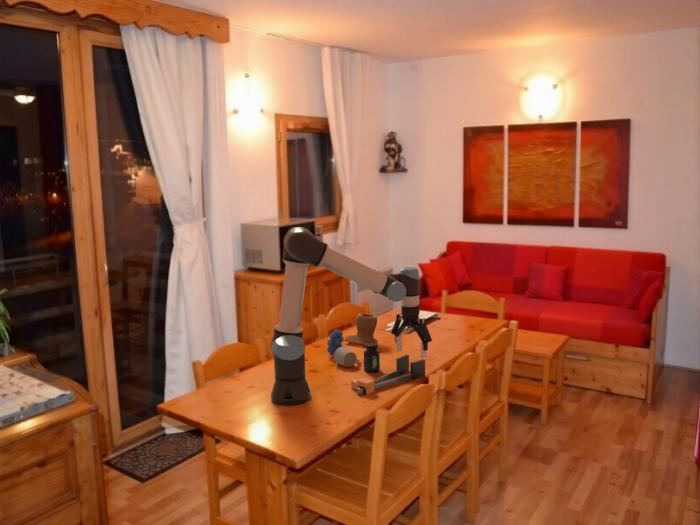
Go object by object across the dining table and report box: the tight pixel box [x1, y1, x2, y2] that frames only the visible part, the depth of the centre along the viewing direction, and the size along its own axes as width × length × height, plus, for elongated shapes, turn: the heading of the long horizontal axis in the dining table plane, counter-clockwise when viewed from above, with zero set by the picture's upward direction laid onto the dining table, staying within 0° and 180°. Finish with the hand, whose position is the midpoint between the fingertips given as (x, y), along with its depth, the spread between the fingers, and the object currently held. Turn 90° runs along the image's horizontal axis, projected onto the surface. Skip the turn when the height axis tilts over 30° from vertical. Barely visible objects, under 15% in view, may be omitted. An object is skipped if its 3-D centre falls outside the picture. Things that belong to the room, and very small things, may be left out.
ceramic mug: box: [333, 346, 360, 368], centre depth 267 cm, size 11×8×8 cm
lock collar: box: [350, 377, 375, 396], centre depth 235 cm, size 4×9×4 cm, turn 43°
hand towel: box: [384, 310, 440, 335], centre depth 332 cm, size 12×4×40 cm
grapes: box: [326, 329, 345, 357], centre depth 281 cm, size 12×7×12 cm, turn 144°
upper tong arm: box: [356, 354, 410, 396], centre depth 244 cm, size 34×3×7 cm, turn 139°
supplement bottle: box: [363, 343, 381, 374], centre depth 257 cm, size 7×7×12 cm
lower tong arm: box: [374, 358, 426, 392], centre depth 241 cm, size 30×1×7 cm, turn 127°
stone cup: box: [344, 312, 378, 346], centre depth 298 cm, size 15×12×15 cm
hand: (411, 354), depth 251 cm, fingers open, 13 cm apart
